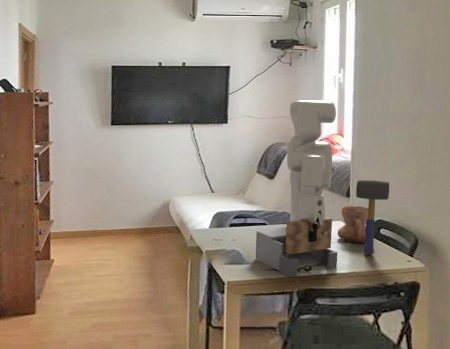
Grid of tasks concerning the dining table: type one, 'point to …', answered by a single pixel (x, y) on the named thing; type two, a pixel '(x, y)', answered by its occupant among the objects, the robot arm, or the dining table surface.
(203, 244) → the dining table surface
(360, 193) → the rubber mallet
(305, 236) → the tan wooden plank
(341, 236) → the ceramic jug
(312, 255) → the cabinet
